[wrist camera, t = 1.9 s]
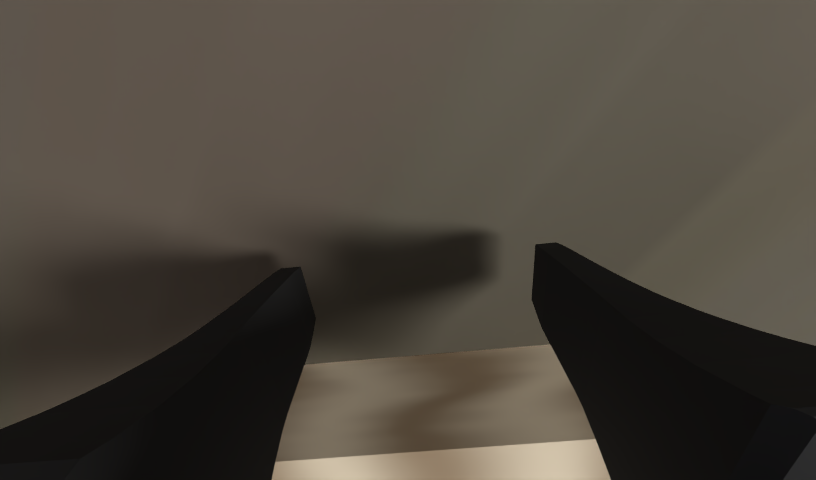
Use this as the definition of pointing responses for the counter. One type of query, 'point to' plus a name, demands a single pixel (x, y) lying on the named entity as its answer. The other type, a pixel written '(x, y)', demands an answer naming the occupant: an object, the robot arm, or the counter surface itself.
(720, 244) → the counter surface
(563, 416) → the t block
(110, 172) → the counter surface
